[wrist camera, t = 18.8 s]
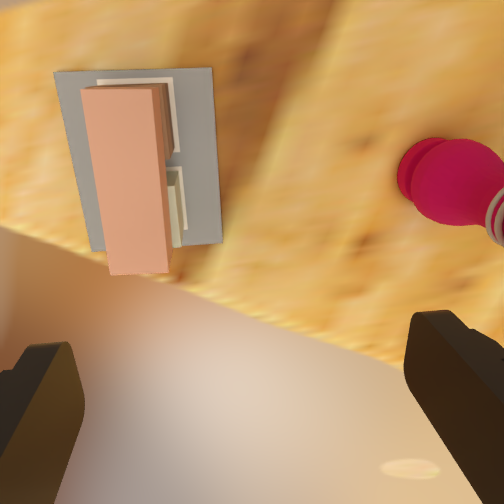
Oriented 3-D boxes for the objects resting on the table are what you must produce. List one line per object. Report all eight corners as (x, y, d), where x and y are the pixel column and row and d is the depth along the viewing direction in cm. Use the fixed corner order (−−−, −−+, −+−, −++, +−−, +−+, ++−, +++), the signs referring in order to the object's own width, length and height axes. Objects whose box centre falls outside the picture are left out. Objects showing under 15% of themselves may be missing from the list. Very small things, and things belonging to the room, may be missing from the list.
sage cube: (178, 170, 34) (174, 186, 30) (184, 225, 36) (181, 247, 32) (119, 173, 34) (105, 189, 29) (128, 228, 36) (117, 251, 31)
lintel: (172, 249, 32) (168, 272, 28) (121, 251, 31) (110, 275, 28) (158, 87, 27) (151, 89, 23) (97, 86, 26) (80, 89, 23)
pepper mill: (478, 144, 37) (736, 212, 19) (442, 215, 40) (639, 333, 22) (412, 122, 36) (624, 172, 18) (379, 196, 38) (535, 308, 20)
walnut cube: (167, 82, 31) (161, 84, 27) (174, 147, 33) (169, 159, 29) (102, 84, 31) (84, 87, 26) (113, 150, 33) (99, 162, 28)
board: (211, 67, 32) (211, 67, 31) (222, 238, 38) (222, 243, 37) (58, 72, 31) (52, 72, 30) (95, 246, 37) (91, 252, 36)
